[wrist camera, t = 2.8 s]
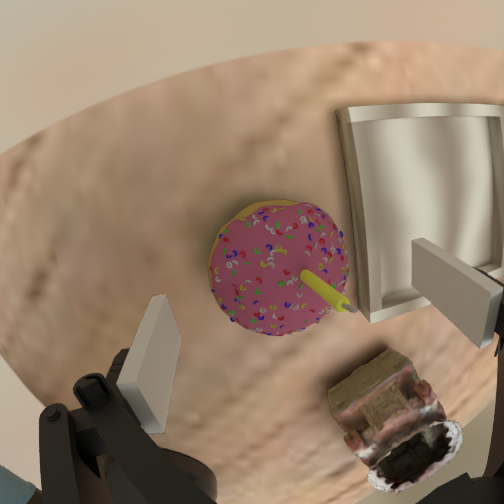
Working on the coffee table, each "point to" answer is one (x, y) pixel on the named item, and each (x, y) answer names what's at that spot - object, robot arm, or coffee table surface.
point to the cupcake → (279, 267)
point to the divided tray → (421, 193)
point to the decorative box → (394, 422)
